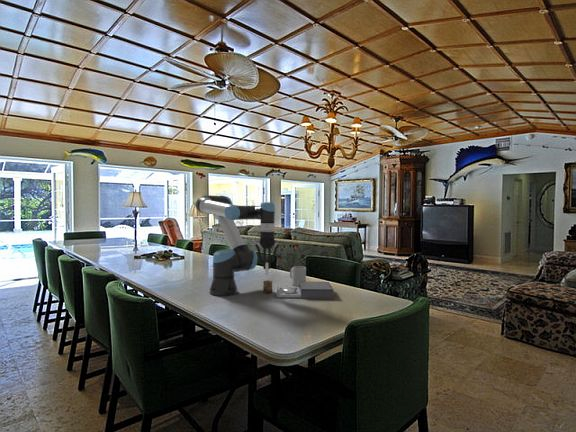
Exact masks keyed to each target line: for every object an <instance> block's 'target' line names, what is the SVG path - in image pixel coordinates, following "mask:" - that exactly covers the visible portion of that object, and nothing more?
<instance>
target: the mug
mask: <svg viewBox="0 0 576 432" xmlns="http://www.w3.org/2000/svg"><path fill="white" fill-rule="evenodd" d="M289 277H290V279H291V285H292V287H299V282H307V281H306V280H307V267H306V266H302V265H296V266H294V265H293V266H292V268H290V271H289Z"/></svg>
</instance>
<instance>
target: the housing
mask: <svg viewBox="0 0 576 432" xmlns="http://www.w3.org/2000/svg"><path fill="white" fill-rule="evenodd" d="M299 288H300V289H301V298H300V299H303V300H305V299H306V300H307V299H308V300H309V299H310V300H311V299H312V300H316V299H317V300H323V299H324V300H334V288H333V286H332V285H331V284H330V282H329V281H306V282H299Z"/></svg>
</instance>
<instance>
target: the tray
mask: <svg viewBox="0 0 576 432" xmlns="http://www.w3.org/2000/svg"><path fill="white" fill-rule="evenodd" d="M279 285H280V284H279V282H277V283H276V298H300V299H301V289H300V288H299V287H297V286H292V287H293V288H296V289H297V292H296V293H294V294H285V293H282V288H286V287H287V286H285V287H284V286H283V287H282V286H281V287H280V286H279Z"/></svg>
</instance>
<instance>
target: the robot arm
mask: <svg viewBox="0 0 576 432" xmlns="http://www.w3.org/2000/svg"><path fill="white" fill-rule="evenodd" d="M275 206H276V205H275V203H274V202H273V201H271V202H269V201H267V202H263V201H262V202H261V203H260V205H236V204H233V201H232V199H231V198H230V197H229V196H226V195H208V194H206V195H201V196H200V197H199V198H197V199H196V202H195V208H196V211H198V213H200V214H204V215H212V216H213V217H214V219H215V220H218V222H219V225H220V227H221V230H222V232H223V234H224V237H225V239H226V241H227V243H228V245H229V248H230V249H229V248H226V249H220V250H216V251H215V252H214V253H213V256H212V262H213V263H212V281H211V284H210V287H209V294H210V295H212V296H217V297H220V296H221V297H225V296H226V297H227V296H233V295H236V294H237V293H238V286H237V283H236V280H235V273H239V272H240V273H241V272H246V271H247V272H248V271H251V270H254V269H255V268H256V266H257V264H258V259H259V262H260V263H263V267H262V268H263V270H264V271H265V272H264V273H265V276H267V277H268V276H269V270H271V264H272V263H275V258H276V255H277V250H278V248H279V247H280V244H279V243H277V242H276V240H275V218H276V217H275V216H276V215H275V213H276V209H275ZM237 220H240V221H241V220H245V221H246V220H259V221H260V222H259V223H260V225H259V227H260V229H259V230H260V232H259V233H260V234H259V235H260V236H259V241H258V242H257V243H255V248H256V250H257V251H256V250H254V249H250V247H249V244H246V243H245V242H244V239H243V238H242V236H241V233H240V230H239V228H238V226H237V225H236V222H235V221H237ZM261 247H262V248H263V256H262V252H261ZM273 247H274V249H273V254H272V255H271V253H272V252H271V249H272V248H273ZM267 251H268V252H267ZM267 255H268V258H267ZM271 256H272V257H271Z"/></svg>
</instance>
